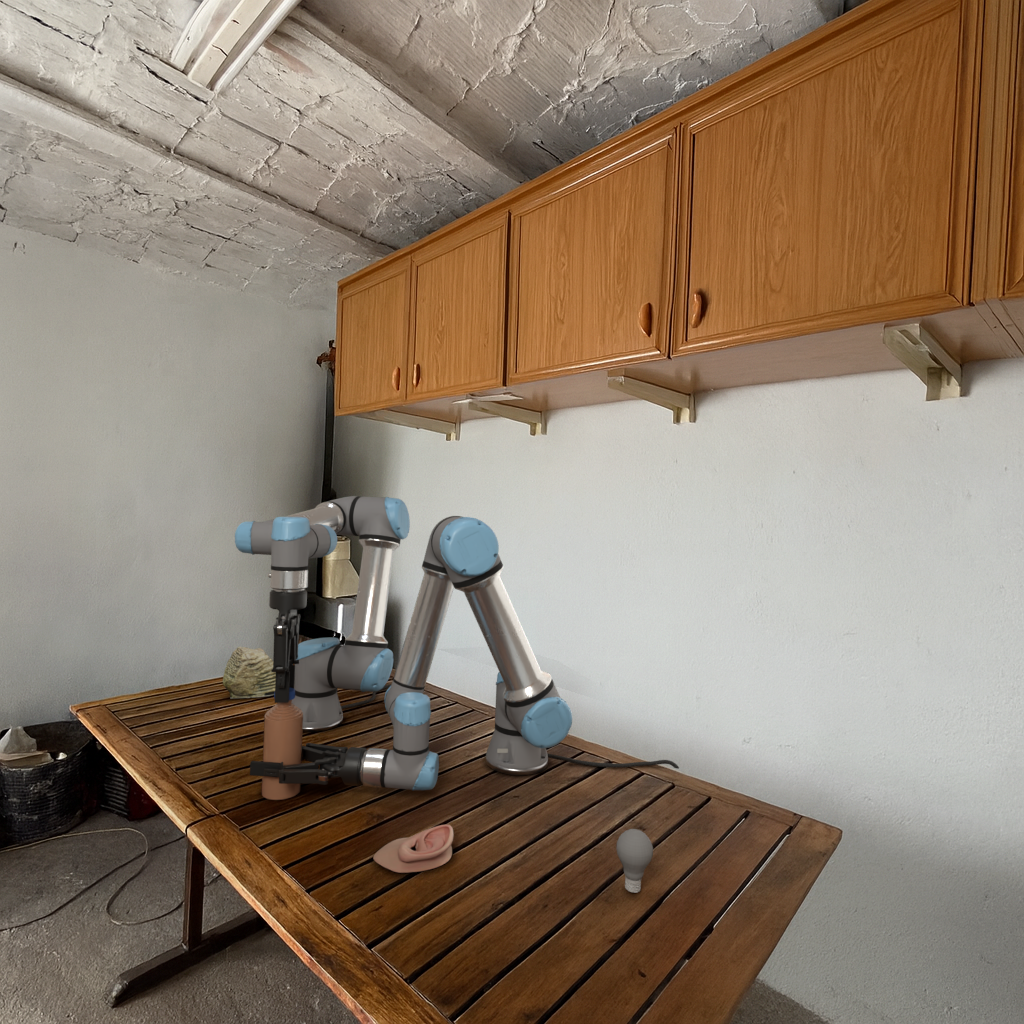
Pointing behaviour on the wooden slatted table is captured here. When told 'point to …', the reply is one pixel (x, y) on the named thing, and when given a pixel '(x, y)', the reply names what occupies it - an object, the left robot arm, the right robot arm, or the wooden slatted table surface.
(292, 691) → the cap
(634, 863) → the light bulb
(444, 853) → the anatomical model
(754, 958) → the wooden slatted table surface
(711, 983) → the wooden slatted table surface
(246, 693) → the fossil
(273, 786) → the bottle
